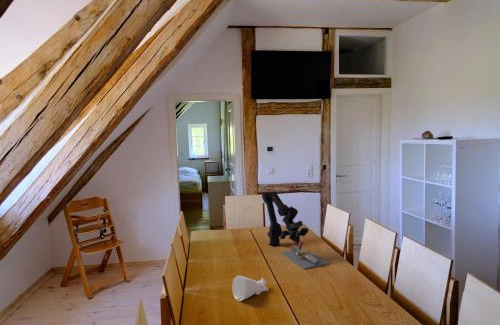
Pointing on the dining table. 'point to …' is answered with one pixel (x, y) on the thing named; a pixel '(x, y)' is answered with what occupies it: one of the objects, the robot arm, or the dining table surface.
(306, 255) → the valve
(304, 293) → the dining table surface
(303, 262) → the mounting board
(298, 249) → the lever
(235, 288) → the rocket engine
